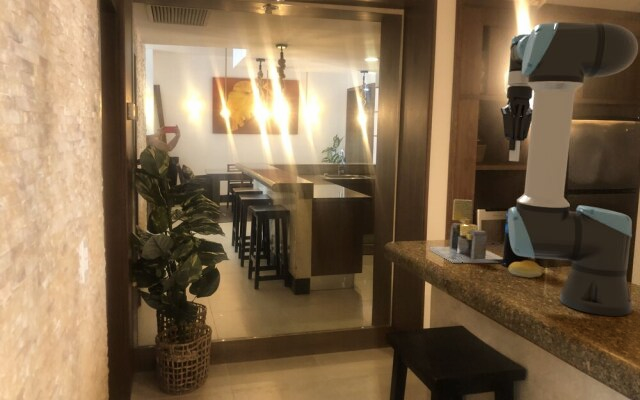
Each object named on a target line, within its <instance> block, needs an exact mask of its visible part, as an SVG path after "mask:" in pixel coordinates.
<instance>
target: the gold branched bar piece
mask: <svg viewBox="0 0 640 400" xmlns="http://www.w3.org/2000/svg"><path fill="white" fill-rule="evenodd" d="M452 204H453V205H452V221H459V222H460V223H463V224H460V230H459V232H460V237H464V238H467V239H469V240H472V239H473V235H472V234H470V230H477V228H478V225H476V224H472V223H471V222H472V213H473V212H472V211H473V200H471V199H453V203H452Z"/></svg>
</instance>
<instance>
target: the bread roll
mask: <svg viewBox="0 0 640 400" xmlns="http://www.w3.org/2000/svg"><path fill="white" fill-rule="evenodd" d="M507 269H508V272H509V273H510V274H511V275H513V276H516V277H521V278H528V279H529V278H536V277H537V278H539V277H540V276H542V274H543V270H542V267H541V266H540V265H539V264H538V263H537V262H534V261H532V260H530V261H528V260H525V261H521V262H513V263H512V264H510V265H509V267H507Z"/></svg>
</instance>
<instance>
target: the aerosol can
mask: <svg viewBox="0 0 640 400" xmlns="http://www.w3.org/2000/svg"><path fill="white" fill-rule="evenodd" d="M508 215H509V211H508V212H507V213H506V214H505V216H506V218H505V219H506V220H505V228H504V229H505V231H504V239H503V240H504V242H503V253H502V258H503V262H502V263H501V266H503V267H505V268H508V267H509V265H510V264H512V263H513V262H521V261H525V260H528V261H531V259H530V258H531V257H524V256H518V255H516V254H515V253H514V252H513V250H512V248H511V245H510V239H509V231H508Z"/></svg>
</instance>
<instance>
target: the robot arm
mask: <svg viewBox="0 0 640 400" xmlns="http://www.w3.org/2000/svg"><path fill="white" fill-rule="evenodd" d="M638 43H639V42H638V39H637V37H636V36H635V35H634V33H633V32H631V30H630V29H628V28H625V27H624V26H621V25H619V24H614V23H608V22H600V23H599V22H597V23H593V22H561V21H560V22H559V21H556V22H548V23H547V22H546V23H539V24H537V25H536V26H534V28H533V29H532V31H531V32H530V33H529V34H528V33H527V34H518V35H515V36H513V37H512V38H511V43H510V46H509V47H510V49H509V50H510V54H509V68H508V77H507V78H508V79H507V85H508V86H507V89H506V90H507V92H506V98H507V100H508V101H507V103H506V106H503V107H500V113H501V114H502V123H503V132H504V133H503V135H504V138H506V140H507V141H509V142H508V143H509V144H508V150H509V156H508V161H510V162H519V161H520V151H521V149H522V142H524V141H525V140H526V139H528V136H529V143H528V153H527V161H526V173H525V183H524V184H525V185H524V193H523V194H522V195H521V196H520V197H518V198H517V199H516V205H515V206H513V207H510V208H509V209H508V212H509V215H508V231H509V239H510V245H511V248H512V250H513V252H514V253H515V254H516V255H518V256H524V257H530V258H531V259H546V260H547V259H548V260H559V261H571V266H570V272H569V273H568V276H567V278H566V280H565V282H564V284H563V288H561V291H560V295H559V301H560V303H561V304H562V305H564V306H565V307H568V308H571V309H573V310H576V311H578V312H579V311H580V312H584V313H588V314H594V315H599V316H611V317H612V316H613V317H615V316H616V317H621V316H622V317H623V316H626V315H629V314H631V313H632V309H633V308H632V306H633V301H632V298H631V294H630V290H629V289H630V288H629V285H628V282H627V281H628V280H627V273H628V265H629V257H630V250H631V240H632V237H633V235H632V234H633V233H632V230H633V229H632V227H633V226H632V225H633V222H632V218H630V216H629V215H627V214H624V213H622V212H617V211H614V210H610V209H605V208H600V207H595V206H588V205H578V206H577V207H576V209H575V211H573V210H571V211H570V207H571V206H570V203H569V202H568V200H567V199H566V198H565V188H566V187H565V185H566V178H567V169H568V168H567V166H568V157H569V149H570V140H571V130H572V119H573V113H574V112H573V111H574V104H575V103H574V102H575V95H576V92H577V90H580V88H582V87H583V85H584V80H585V78H603V77H608V76H612V75H616V74H618V73H620V72H622V71H625V70H626V69H627V68H629V67H630V65H632V64H633V63H634V60H635V59H636V57H637V55H638V51H639V44H638ZM532 98H533V101H532V108H531V104H530V100H531V99H532ZM529 131H530V133H529Z"/></svg>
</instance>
